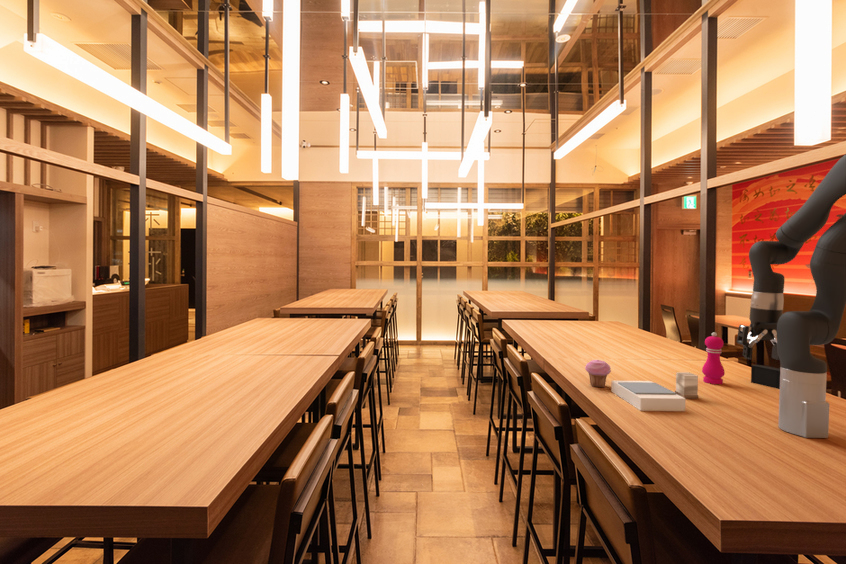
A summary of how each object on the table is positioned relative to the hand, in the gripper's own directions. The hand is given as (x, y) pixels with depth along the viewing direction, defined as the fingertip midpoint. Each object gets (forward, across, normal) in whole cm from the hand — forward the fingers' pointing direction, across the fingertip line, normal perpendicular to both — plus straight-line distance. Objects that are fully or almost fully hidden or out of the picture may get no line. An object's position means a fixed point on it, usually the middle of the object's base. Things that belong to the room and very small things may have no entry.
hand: (761, 358), depth 122 cm
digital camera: (+20, +30, +30) cm, 47 cm away
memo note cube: (+18, -12, +15) cm, 27 cm away
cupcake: (+19, -38, +27) cm, 51 cm away
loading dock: (+18, -29, +10) cm, 36 cm away
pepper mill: (+20, +10, +33) cm, 40 cm away
